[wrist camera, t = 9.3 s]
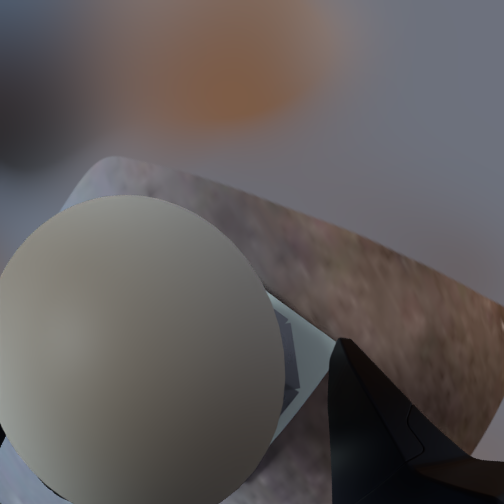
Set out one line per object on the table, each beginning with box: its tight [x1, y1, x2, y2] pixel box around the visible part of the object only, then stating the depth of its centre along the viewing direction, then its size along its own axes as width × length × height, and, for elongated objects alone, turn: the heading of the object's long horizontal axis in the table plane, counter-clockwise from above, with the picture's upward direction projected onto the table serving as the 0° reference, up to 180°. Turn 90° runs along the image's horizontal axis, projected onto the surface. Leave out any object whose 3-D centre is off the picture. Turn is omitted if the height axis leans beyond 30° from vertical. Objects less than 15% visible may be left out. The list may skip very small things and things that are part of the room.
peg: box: [0, 195, 285, 504], centre depth 9 cm, size 4×4×14 cm
